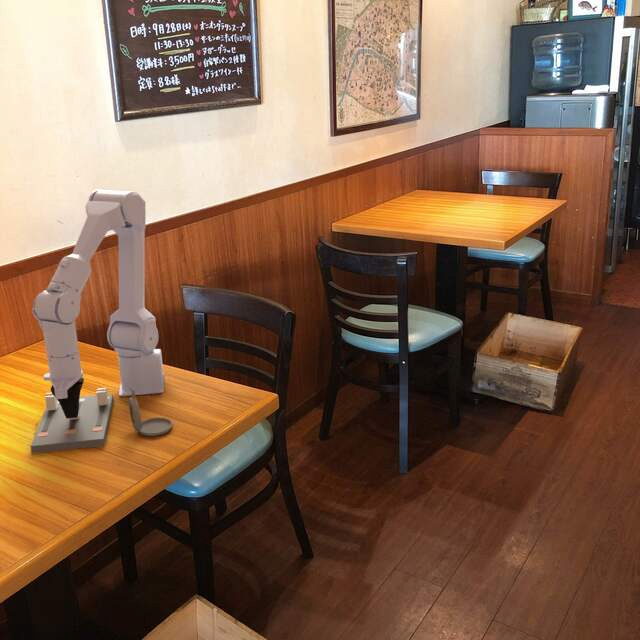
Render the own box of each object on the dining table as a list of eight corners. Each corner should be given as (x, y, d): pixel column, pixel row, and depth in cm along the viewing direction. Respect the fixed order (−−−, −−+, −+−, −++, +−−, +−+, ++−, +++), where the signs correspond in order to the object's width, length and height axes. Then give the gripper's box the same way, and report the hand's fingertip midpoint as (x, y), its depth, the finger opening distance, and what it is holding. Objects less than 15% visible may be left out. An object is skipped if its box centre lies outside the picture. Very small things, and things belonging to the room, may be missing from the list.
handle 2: (108, 400, 144) (106, 386, 143) (107, 404, 142) (105, 390, 141) (99, 401, 143) (97, 387, 142) (98, 405, 142) (96, 391, 141)
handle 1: (57, 405, 142) (55, 391, 141) (56, 409, 140) (54, 395, 139) (48, 406, 142) (46, 392, 141) (47, 410, 140) (44, 396, 139)
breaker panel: (113, 400, 148) (112, 393, 148) (104, 445, 130) (103, 438, 129) (50, 405, 146) (49, 399, 145) (31, 453, 127) (30, 445, 127)
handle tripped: (79, 414, 138) (77, 399, 137) (78, 418, 136) (76, 404, 135) (70, 415, 138) (68, 400, 137) (69, 419, 136) (66, 405, 135)
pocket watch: (179, 426, 137) (175, 380, 133) (149, 445, 130) (144, 397, 126) (149, 417, 140) (144, 372, 137) (118, 434, 134) (112, 387, 130)
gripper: (47, 340, 136) (56, 402, 141) (33, 369, 123) (44, 436, 127) (84, 337, 137) (92, 399, 142) (74, 365, 124) (83, 432, 128)
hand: (72, 416), depth 135 cm, fingers closed
